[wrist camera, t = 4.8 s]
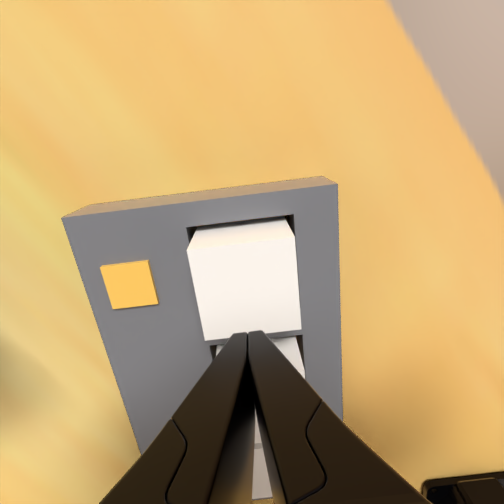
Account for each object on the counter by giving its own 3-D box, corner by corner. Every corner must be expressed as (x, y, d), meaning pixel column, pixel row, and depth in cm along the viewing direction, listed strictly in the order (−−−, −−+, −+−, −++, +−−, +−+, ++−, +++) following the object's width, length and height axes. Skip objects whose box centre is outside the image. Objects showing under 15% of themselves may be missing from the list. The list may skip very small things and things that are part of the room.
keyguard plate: (332, 450, 21) (345, 493, 18) (169, 468, 21) (159, 514, 19) (322, 176, 15) (339, 184, 12) (89, 204, 15) (58, 218, 12)
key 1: (290, 293, 15) (301, 329, 12) (211, 302, 15) (205, 340, 12) (283, 216, 14) (294, 237, 11) (197, 226, 14) (186, 250, 11)
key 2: (300, 443, 20) (310, 492, 18) (242, 449, 20) (242, 500, 18) (296, 397, 19) (306, 443, 16) (234, 405, 19) (233, 451, 16)
